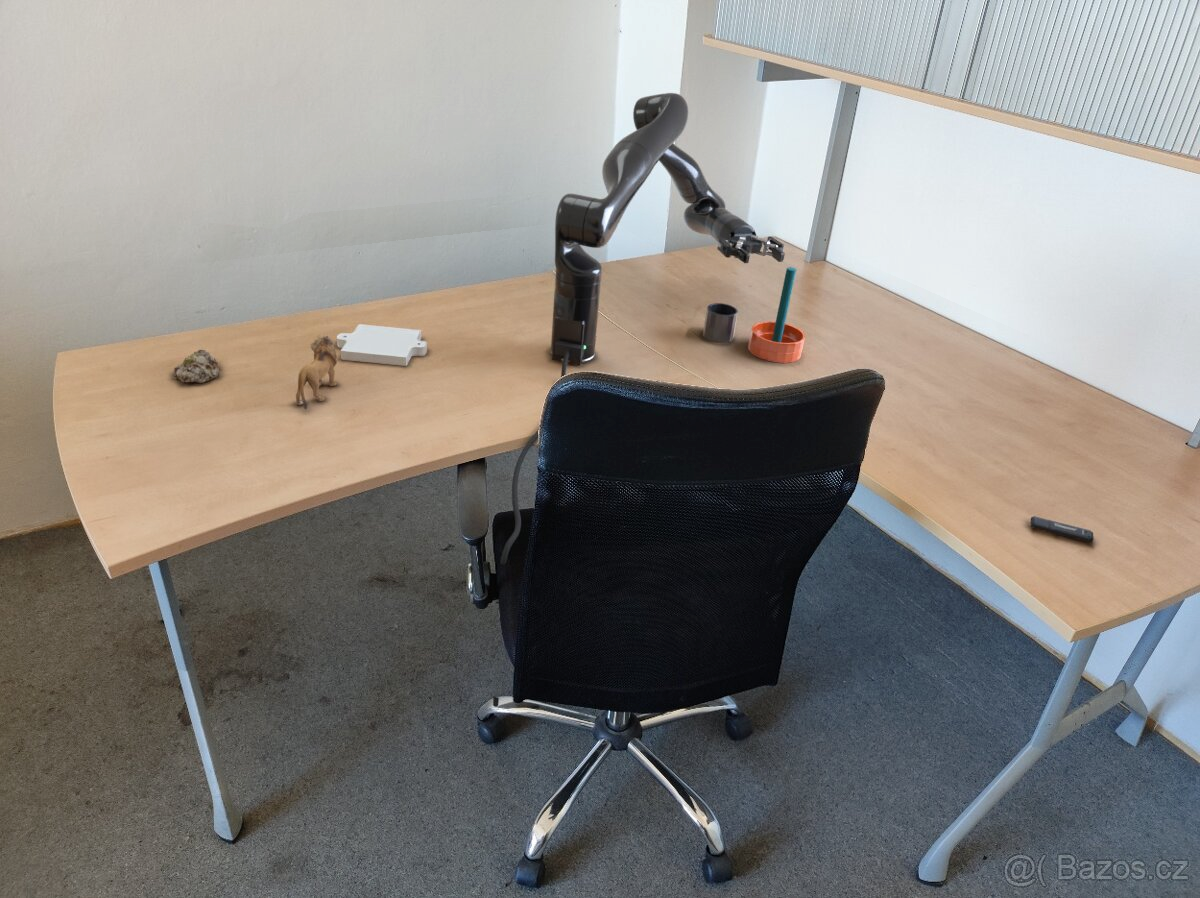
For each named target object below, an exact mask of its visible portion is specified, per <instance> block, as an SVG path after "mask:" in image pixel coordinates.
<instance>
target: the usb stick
mask: <svg viewBox="0 0 1200 898" xmlns="http://www.w3.org/2000/svg"><path fill="white" fill-rule="evenodd" d="M1030 527H1031V528H1032V529H1035V530H1039V531H1043V532H1046V533H1050V534H1055V535H1058V536H1062V537H1066V538H1070V539H1075V540H1079V541H1081V542H1085V543H1086V542H1087V543H1090V542H1091V543H1093V541H1094V537H1095V536H1094V532H1093V531H1092V530H1090V529H1087V528H1084V527H1079V526H1075V525H1071V524H1066V523H1063V522H1059V521H1055V520H1051V519H1047V518H1044V517H1039V516H1036V515H1034V516H1031V517H1030Z"/></svg>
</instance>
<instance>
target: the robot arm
mask: <svg viewBox="0 0 1200 898" xmlns="http://www.w3.org/2000/svg"><path fill="white" fill-rule="evenodd" d="M632 116H633V117H632V118H633V124H634V127H635V130H634V131H633V132H631V133H629V134H627V135H626V136H624V137H622V138H621V139H620V140H619V141H618V142H617V143H616V144H615V145H614V147H613V148H612V149H611V150H610V152H608V155H606V158H605V159H604V161H603V164H602V167H601V168H602V169H601V173H602V174H601V175H602V180H603V184H604V187H605V189H606V193H607V195H606V197H604V198H597V197H592V196H588V195H582V194H579V193H570V192H569V193H566V194H564V195H563V196H562V197H561V199H560V201H559V202H558V205H557V208H556V212H555V221H554V266H555V278H554V279H555V280H554V281H555V282H554V293H553V306H552V307H553V309H552V321H551V341H550V351H549V355H550V356H551V360H552V361H555V362H561V363H562V365H561V373H560V378H561V377H562V376H564V375H567V367H568V364H569V365H574V366H578V367H579V366H581V365H582V364H586V363H589V362H592V361H593V360H594V359H595V357H596V343H597V332H598V318H599V309H600V296H601V289H602V288H601V287H602V277H603V266H602V264H601V262H599V261H598V260H597V259H596V258H594V257H593V256H592V255H590V254H589V253H588V252H586V250H585V249H584V248H583V247H587V248H593V249H600V248H603V247H605V246H606V245H607V244H608V243H609V241H611V238H612V237H613V235H614V233H615V232H616V230H617V228H618V226H619V224H620V222H621V220H622V218H623V216H624V214H625V212H626V210H627V208H628V207H629V206H630V203H631V202H632V200H633V199H634V198H635V196H636V194H637V193H638V192H639V190H640V189H641V188H642V186H643V185H644V183H645V182H646V180H647V179H648V178H649V176H650V174H651V173H652V171H653V169H654V168H655V166H656V165H657V164H658V163H660V164H661V165H662V167H663V168H664V169H665V170H666V172H667V173H668V175H669V176H670V178H671V180H672V182H673V184H674V186H675V188H676V190H677V192H678V194H679V196H680V198H681V199H682V200H683V201H684V203H687V204H689V205H688V206H687V207H686V208H685V209H684V211H683V220H684V223H685V224H686V226H687V227H688V228H689V229H691V230H692V231H693V232H695V233H698V234H702V235H707V236H711V237H712V238H713V239H714V240H715V241H716V242H717V251H719V252H720V253H721V254H722V255H723V256H724V257H725V258H728V259H729V258H731V257H733V258H734V259H738V260H739V261H740V262H742V263H743V264H749V261H750V257H751V256H750V255H758V256H762V257H765V256H770V257H772V258H773V259H774V260H775V261H777V262H778V263H783V261H784V259H785V255H786V253H785V252H784V251H783V250H784V248H785V244H784V243H783V242H781V241H779V240H778V239H777V238H774V237H773V236H767V239H764V238H761V237H759V236H758V235H757V233H756V230H755V229H754V227H753V226H752V225H750V224H749V223H747V222H746V221H745V220H743V219H742V218H741V217H739V216H737V215H736V214H733V213H732V212H731V211H729V210H728V209H727V207H726V206H727V205H726V202H725V200H724V199H723V198H722V197H721V195H720V194H718V192H716V191H715V190H714V189H713V188H712V187H711V186H710V184H709V182H708V181H707V180H706V177H705V175H704V173H703V170H702V169H701V167H700V165H699V163H698V162H697V161H696V160H695V159H694V157H692V156H691V155H689V154H688V153H687V152H686V151H684V150H683V149H682V148H680V147H679V146H677V145H676V144H675V142H676V141H677V140H678V139H679V138H680V137H681V136H682V134H683V133H684V131H685V129H686V127H687V124H688V122H689V121H688V120H689V106H688V103H687V101H686V99H685V97H683V96H682V95H681V94H679V93H676V92H675V93H674V92H666V93H659V94H652V95H647V96H643V97H640V98H639V99H637V100H636V101H635V104H634V107H633V111H632ZM761 250H762V251H761ZM538 430H539V428H538V429H537V430H536V431H535V432H534V434H533V435H532V436H531V437H530V439H528V441H527V442H526V443H525V445H524V447H523V448H522V451H521V452H520V454H519V457H518V458H517V461H516V464H515V467H514V471H513V474H512V475H513V476H512V482H511V502H512V511H513V514H514V529H513V530H514V531H513V532H512V534H511V535H510V537H508V540H507V541H506V542H505V545H504V547H503V550H502V553H501V556H500V564H501V565H506V564H507V561H508V556H509V553H510V550H511V548H512V546H513V544H514V543H515V541H516V540H517V539H518V537H519V535H520V532H521V528H522V518H521V517H522V516H521V512H520V507H519V496H518V495H519V494H518V489H519V488H518V485H519V482H518V481H519V477H520V472H521V468H522V464H523V462H524V460H525V458H526V455H527V454H528V452H529V450H530V449H531V447H532V446H533V445H534V443H535V442H536V441H537V439H538V438H539V437H538ZM499 699H500V698H499V697H497V696H493V698H492V700H493V701H492V706H493V707H494V708H497V707H499V702H500V701H499Z"/></svg>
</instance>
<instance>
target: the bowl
mask: <svg viewBox="0 0 1200 898" xmlns="http://www.w3.org/2000/svg"><path fill="white" fill-rule="evenodd" d="M775 323H776V321H772V320H771V321H770V320H767V321H759V322H756V323H754V324H753V325H752V326H751V330H750V333H749V339H748V344H747V349H748V351H749V352H750V353H751V354H752V355H753V356H755V357H757V358H758V359H760V360H764V361H768V362H772V363H779V364H780V363H781V364H786V363H794V362H796V361H798V360H799V359H801V356H802V351H803V348H804V344H805V339H806V334H805V333H804V332H803V331H802V330H801V329H800V328H798V327H796V326H794V325H791V324H789V323H786V322H785V326H784V330H783V335H782V340H781V343H779V342H774V341H772V338H773V333H774V328H775Z"/></svg>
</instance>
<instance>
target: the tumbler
mask: <svg viewBox="0 0 1200 898" xmlns="http://www.w3.org/2000/svg"><path fill="white" fill-rule="evenodd" d="M738 314H739V310H738V308H737V307H735V306H733V305H731V304H727V303H722V302H715V303H710V304H708V305H707V307H706V311H705V318H704V325H703V330H702V336H703V337H704V339H706V340H707V341H710V342H712V343H713V342H714V343H720V344H726V343H730V342H732V341H733V339H734V338H735V333H736V332H735V331H736V325H737V320H738Z"/></svg>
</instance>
